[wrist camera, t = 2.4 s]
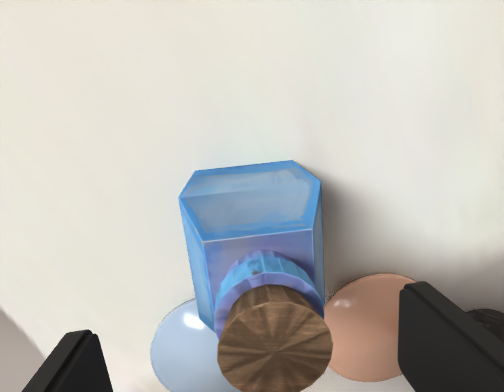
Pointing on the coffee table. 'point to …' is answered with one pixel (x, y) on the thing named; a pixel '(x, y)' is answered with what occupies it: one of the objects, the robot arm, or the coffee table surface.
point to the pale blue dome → (187, 353)
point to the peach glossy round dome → (366, 327)
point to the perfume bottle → (260, 272)
